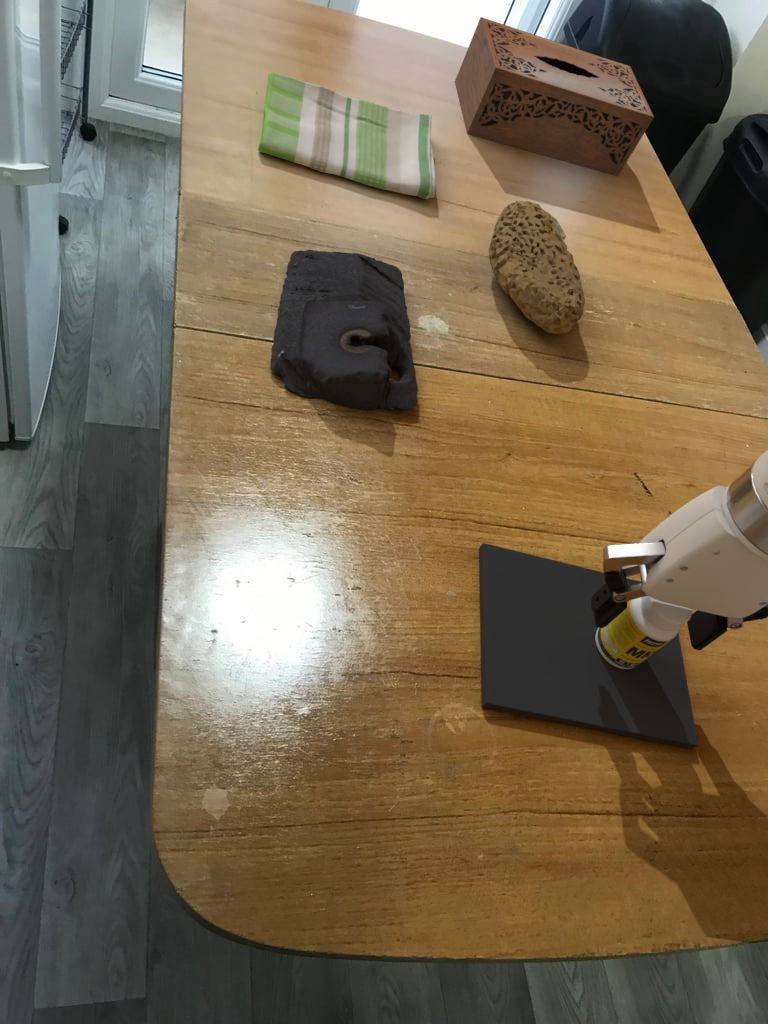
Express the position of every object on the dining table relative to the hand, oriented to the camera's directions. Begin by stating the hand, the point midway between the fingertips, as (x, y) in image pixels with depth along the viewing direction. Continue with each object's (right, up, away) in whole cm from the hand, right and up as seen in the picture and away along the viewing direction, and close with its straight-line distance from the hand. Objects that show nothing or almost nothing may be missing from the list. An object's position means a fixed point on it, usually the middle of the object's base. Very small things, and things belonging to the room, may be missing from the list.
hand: (645, 623), depth 72 cm
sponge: (-5, +38, +33) cm, 51 cm away
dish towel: (-28, +58, +39) cm, 75 cm away
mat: (-5, -2, +4) cm, 6 cm away
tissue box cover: (+1, +70, +59) cm, 91 cm away
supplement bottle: (-2, -3, +4) cm, 5 cm away
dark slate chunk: (-27, +29, +18) cm, 43 cm away
